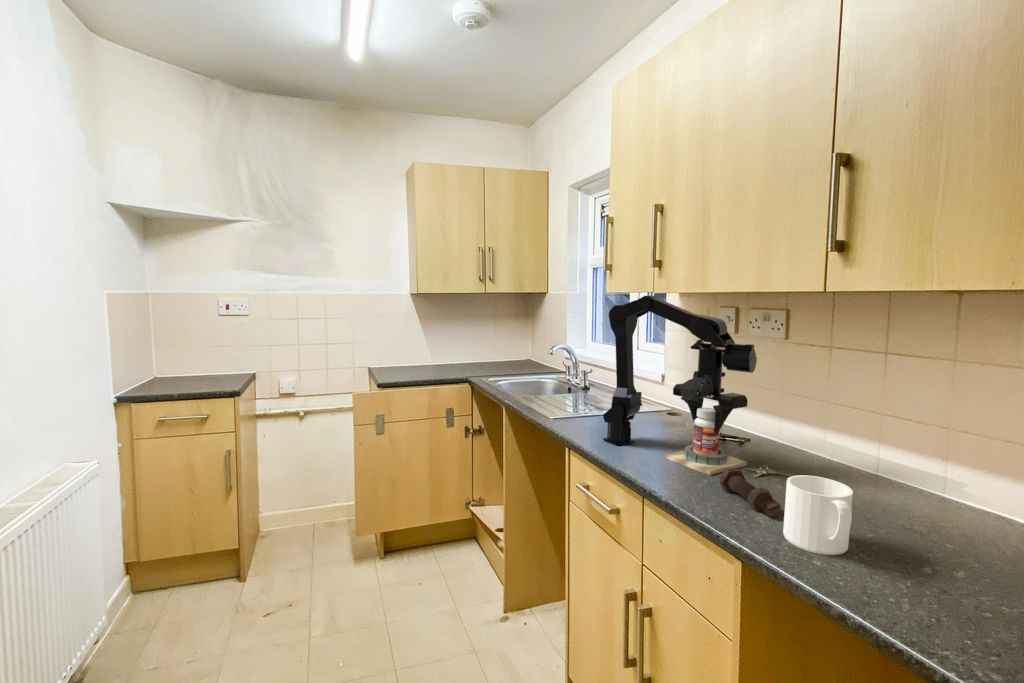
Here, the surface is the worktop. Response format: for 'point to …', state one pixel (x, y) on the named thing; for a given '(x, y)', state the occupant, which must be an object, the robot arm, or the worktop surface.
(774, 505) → the bolt
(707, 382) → the robot arm
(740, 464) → the socket
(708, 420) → the pill bottle
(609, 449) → the worktop surface
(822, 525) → the mug
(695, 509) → the worktop surface
